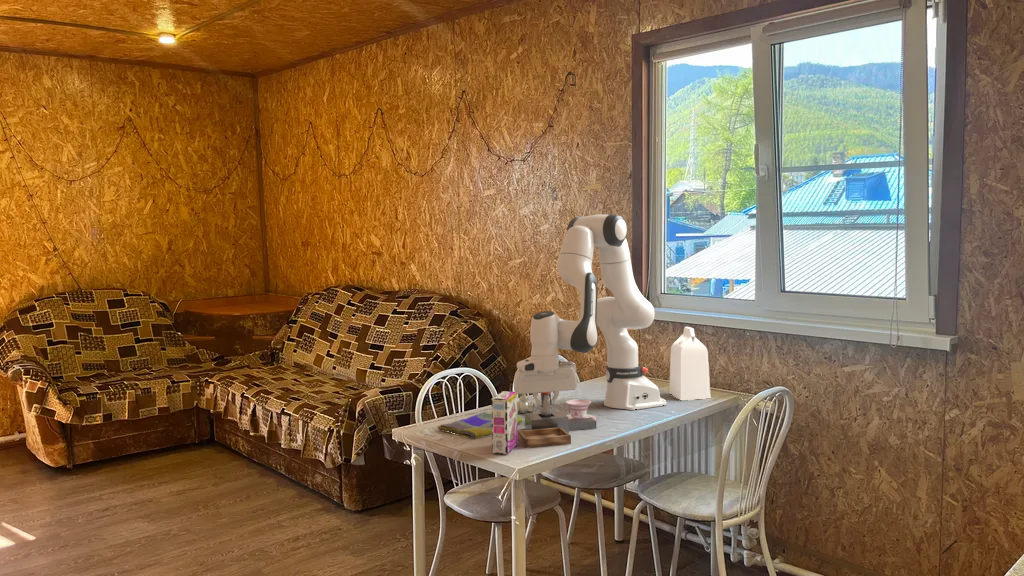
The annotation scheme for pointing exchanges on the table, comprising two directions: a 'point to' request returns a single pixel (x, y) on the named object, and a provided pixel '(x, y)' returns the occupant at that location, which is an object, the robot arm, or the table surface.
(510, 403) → the candy bar box
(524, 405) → the valve
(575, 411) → the teacup
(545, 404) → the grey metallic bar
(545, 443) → the tray
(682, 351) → the milk
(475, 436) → the dish towel
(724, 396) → the table surface
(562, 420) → the hitch block
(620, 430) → the table surface
